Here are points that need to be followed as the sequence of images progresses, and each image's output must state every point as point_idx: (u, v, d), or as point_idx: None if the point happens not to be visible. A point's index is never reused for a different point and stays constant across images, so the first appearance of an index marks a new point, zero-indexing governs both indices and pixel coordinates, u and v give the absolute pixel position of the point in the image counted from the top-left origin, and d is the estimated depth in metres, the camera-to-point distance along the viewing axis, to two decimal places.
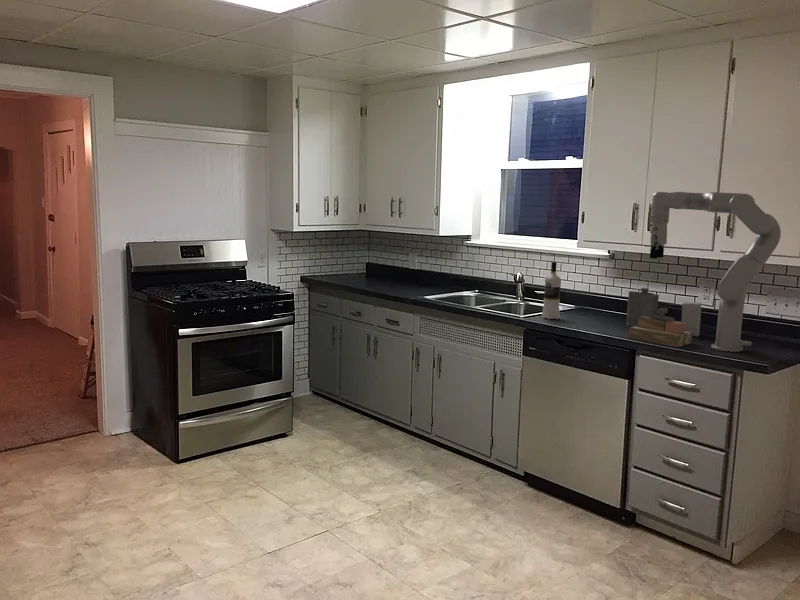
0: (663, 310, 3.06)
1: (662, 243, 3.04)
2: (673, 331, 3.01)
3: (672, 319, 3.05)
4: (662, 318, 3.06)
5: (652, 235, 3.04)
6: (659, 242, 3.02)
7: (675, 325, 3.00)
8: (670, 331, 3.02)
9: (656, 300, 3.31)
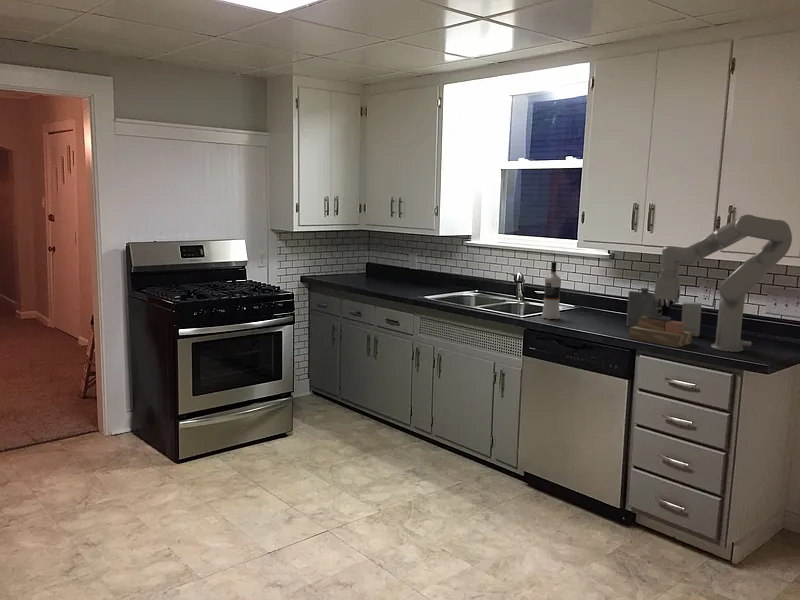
0: (660, 310, 3.07)
1: (658, 296, 3.06)
2: (673, 331, 3.01)
3: (669, 319, 3.06)
4: (659, 318, 3.07)
5: None
6: None
7: (675, 325, 3.00)
8: (670, 331, 3.02)
9: (656, 300, 3.31)
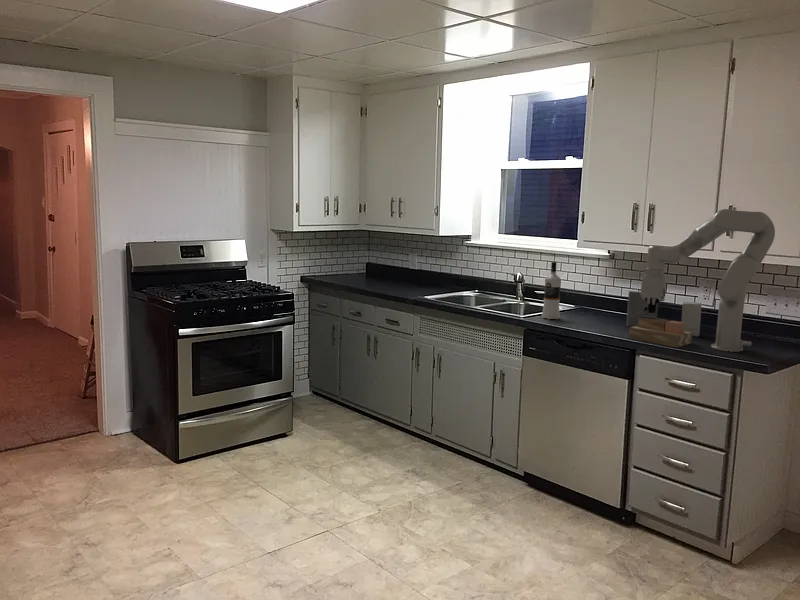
0: (646, 308, 3.12)
1: (644, 295, 3.10)
2: (673, 331, 3.01)
3: (655, 316, 3.10)
4: (645, 315, 3.12)
5: None
6: None
7: (675, 325, 3.00)
8: (670, 331, 3.02)
9: None
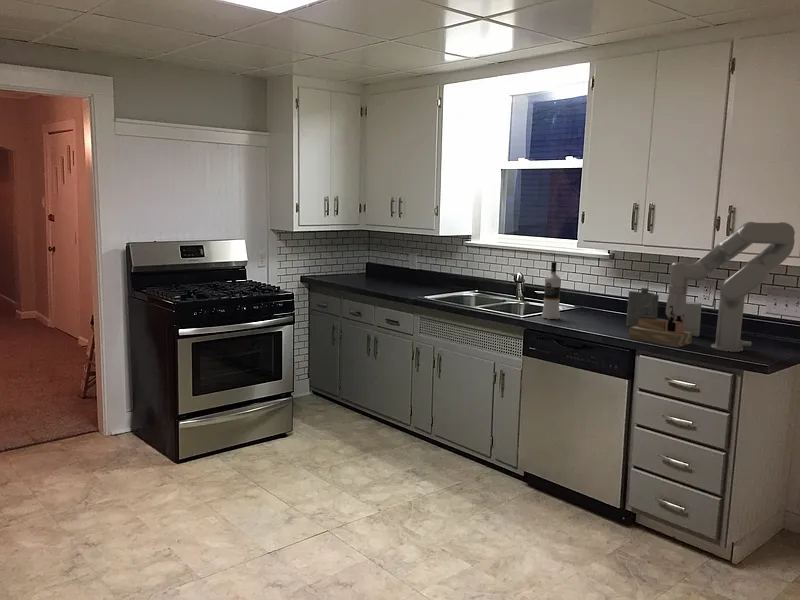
0: (646, 308, 3.12)
1: None
2: None
3: (655, 316, 3.10)
4: (645, 315, 3.12)
5: None
6: None
7: (675, 325, 3.00)
8: (670, 331, 3.02)
9: (656, 300, 3.31)
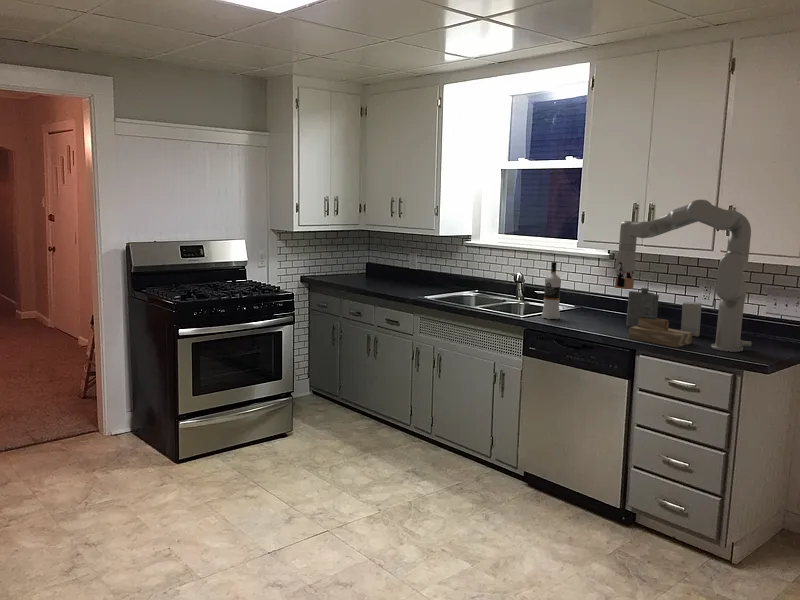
0: (646, 308, 3.12)
1: None
2: None
3: (655, 316, 3.10)
4: (645, 315, 3.12)
5: None
6: None
7: (624, 281, 3.17)
8: None
9: (656, 300, 3.31)
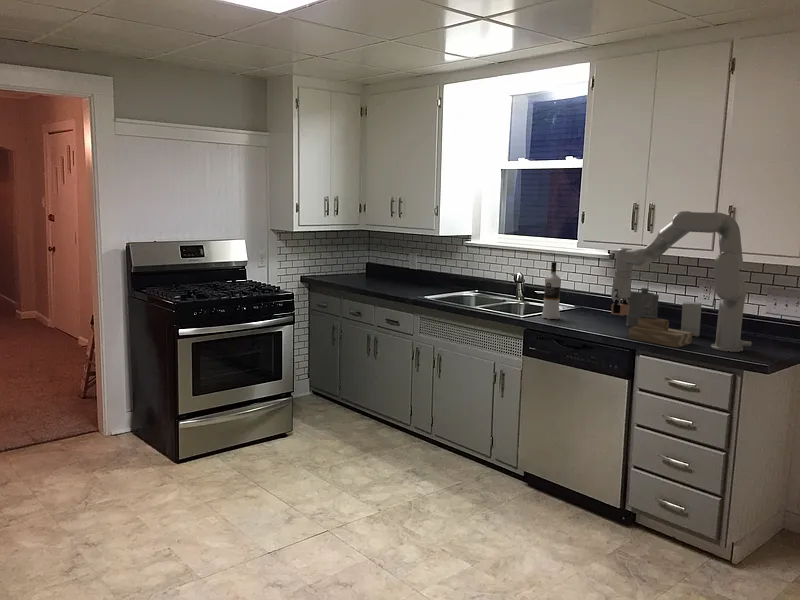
0: (646, 308, 3.12)
1: None
2: None
3: (655, 316, 3.10)
4: (645, 315, 3.12)
5: None
6: None
7: (620, 307, 3.20)
8: (615, 313, 3.22)
9: (656, 300, 3.31)
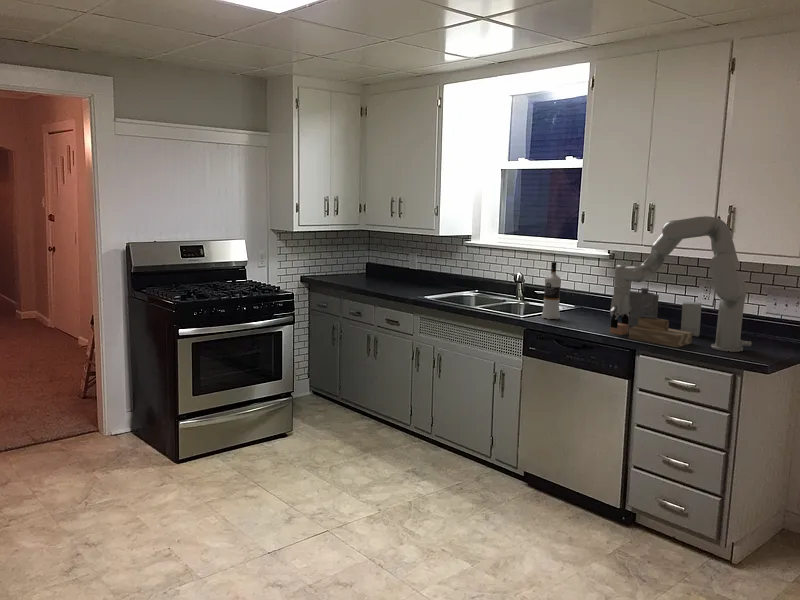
0: (646, 308, 3.12)
1: None
2: (617, 332, 3.22)
3: (655, 316, 3.10)
4: (645, 315, 3.12)
5: None
6: None
7: (619, 327, 3.21)
8: (614, 332, 3.23)
9: (656, 300, 3.31)
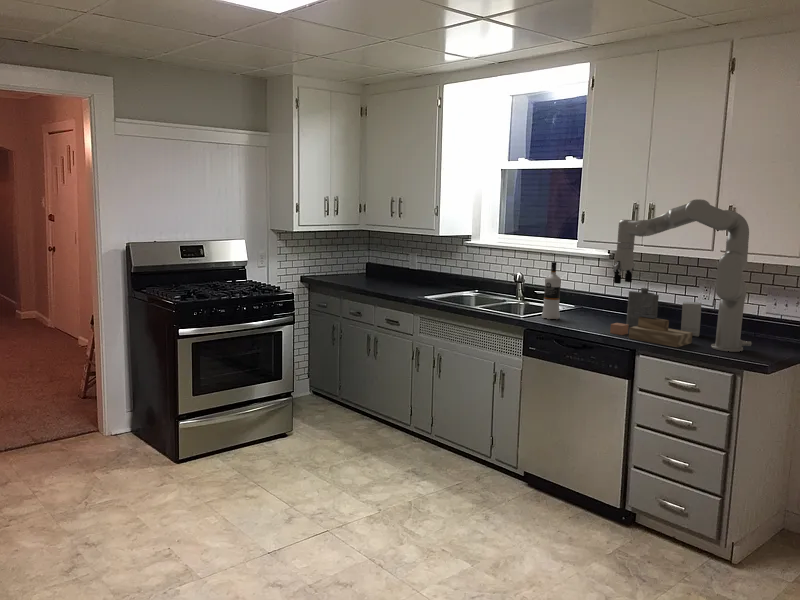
0: (646, 308, 3.12)
1: None
2: (618, 332, 3.22)
3: (655, 316, 3.10)
4: (645, 315, 3.12)
5: None
6: None
7: (619, 327, 3.21)
8: (615, 333, 3.23)
9: (656, 300, 3.31)
